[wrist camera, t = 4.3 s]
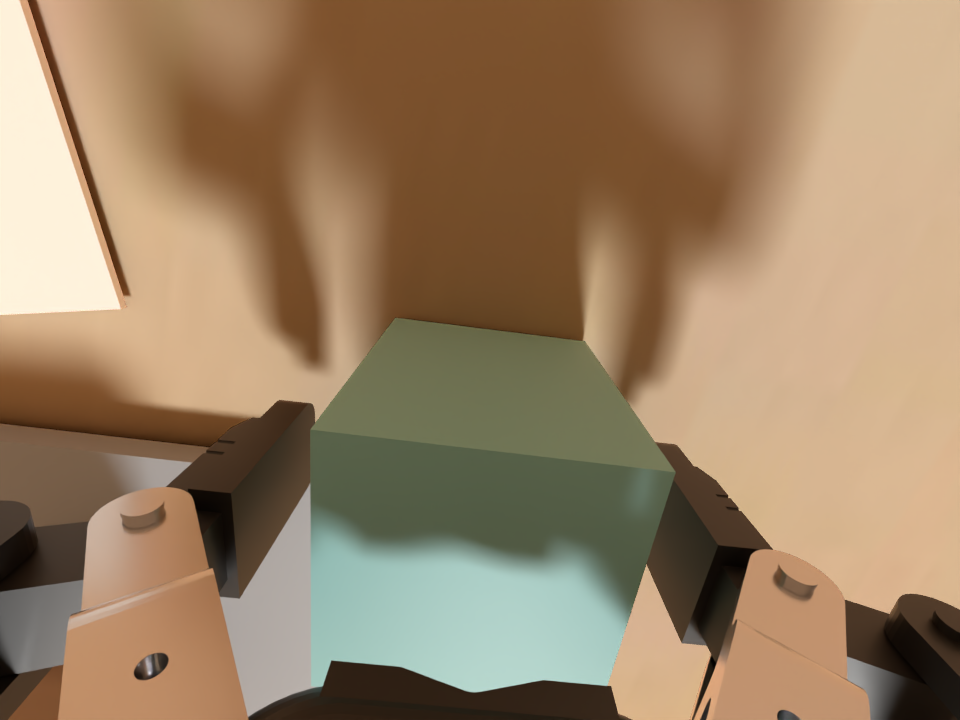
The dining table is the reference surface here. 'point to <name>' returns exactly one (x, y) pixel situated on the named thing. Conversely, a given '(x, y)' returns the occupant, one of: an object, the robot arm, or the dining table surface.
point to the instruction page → (44, 189)
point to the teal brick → (479, 510)
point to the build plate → (150, 464)
